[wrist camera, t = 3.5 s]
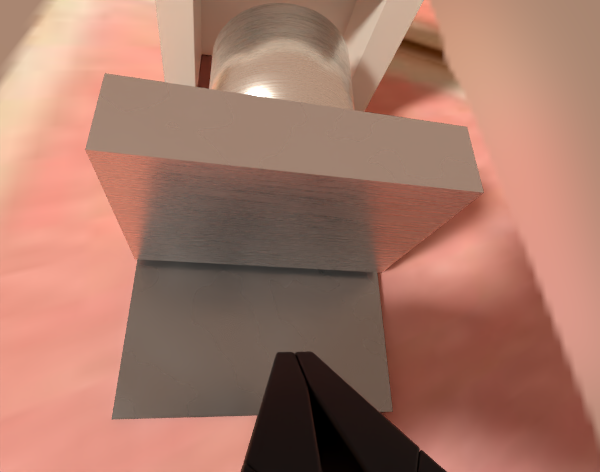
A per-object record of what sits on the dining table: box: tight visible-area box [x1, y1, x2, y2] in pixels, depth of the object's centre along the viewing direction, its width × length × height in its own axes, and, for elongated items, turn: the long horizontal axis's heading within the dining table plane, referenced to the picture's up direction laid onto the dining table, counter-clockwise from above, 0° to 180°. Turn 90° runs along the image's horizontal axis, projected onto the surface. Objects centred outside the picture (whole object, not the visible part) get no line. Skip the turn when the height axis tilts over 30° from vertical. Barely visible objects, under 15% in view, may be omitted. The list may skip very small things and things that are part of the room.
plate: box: [112, 259, 393, 419], centre depth 18 cm, size 16×11×1 cm
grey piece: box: [85, 3, 484, 273], centre depth 15 cm, size 8×11×8 cm
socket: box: [155, 0, 424, 112], centre depth 18 cm, size 5×11×10 cm, turn 91°
